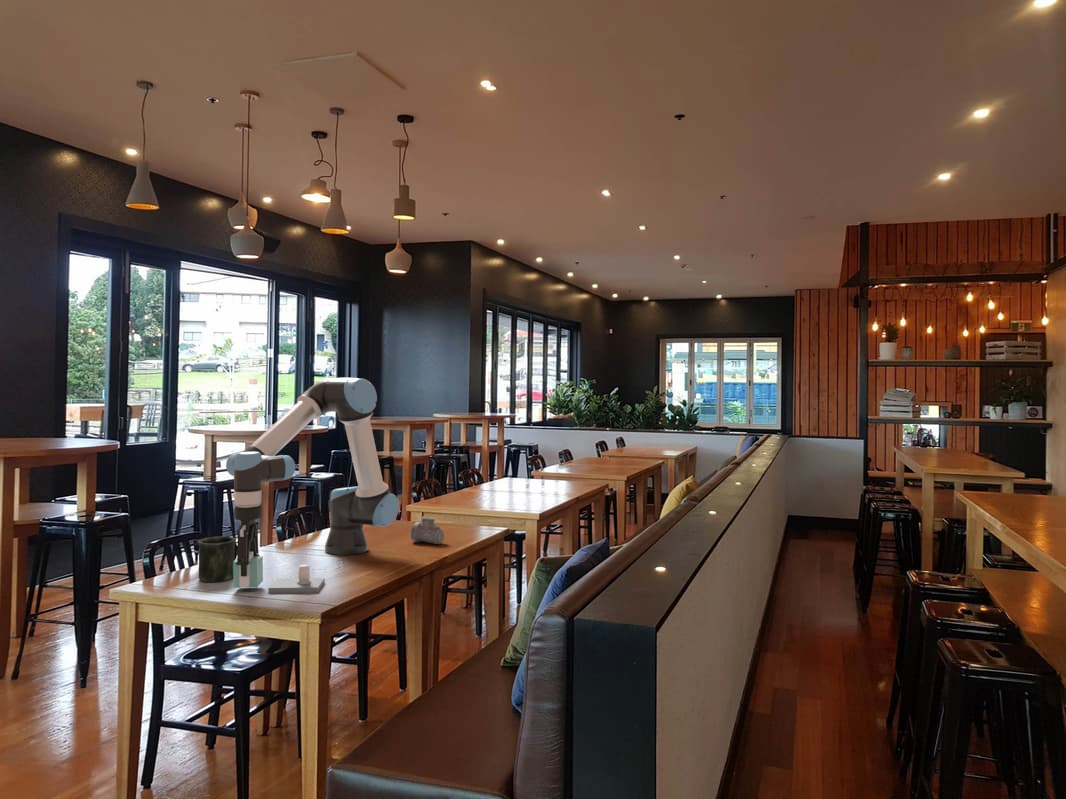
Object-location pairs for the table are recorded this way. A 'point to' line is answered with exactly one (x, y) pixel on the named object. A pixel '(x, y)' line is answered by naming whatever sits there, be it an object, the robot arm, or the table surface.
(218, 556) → the mug
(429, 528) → the pipe fitting
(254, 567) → the teal cube with ledge
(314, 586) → the post board
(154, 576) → the table surface
